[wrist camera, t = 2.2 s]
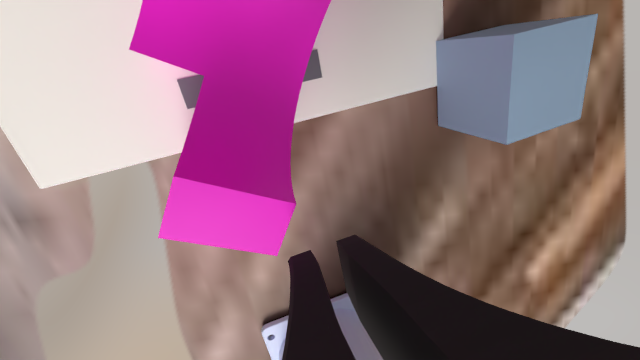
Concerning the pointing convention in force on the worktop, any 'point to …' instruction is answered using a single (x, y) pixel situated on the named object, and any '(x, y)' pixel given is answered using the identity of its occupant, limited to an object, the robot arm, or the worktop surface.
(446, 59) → the blue cube
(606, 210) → the worktop surface
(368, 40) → the letter board
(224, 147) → the toy block
